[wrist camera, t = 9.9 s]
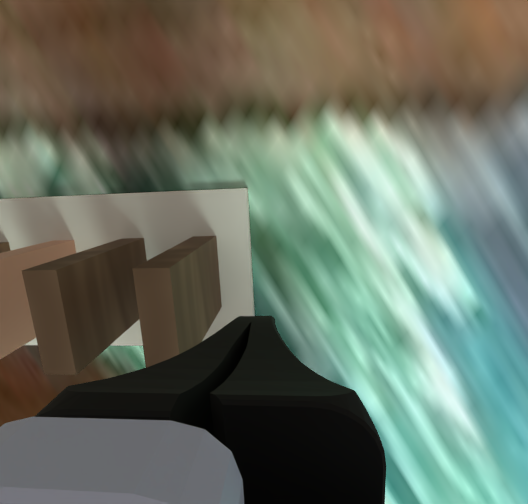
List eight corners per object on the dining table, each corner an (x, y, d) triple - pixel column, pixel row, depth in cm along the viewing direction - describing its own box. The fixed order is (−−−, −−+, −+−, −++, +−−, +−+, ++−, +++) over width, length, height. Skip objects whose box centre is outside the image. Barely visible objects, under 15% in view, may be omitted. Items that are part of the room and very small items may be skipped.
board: (247, 187, 20) (246, 188, 20) (256, 342, 22) (255, 346, 22) (-93, 202, 23) (-102, 203, 22) (-54, 341, 25) (-61, 344, 24)
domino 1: (74, 240, 21) (-51, 272, 14) (85, 307, 23) (-24, 373, 15) (52, 240, 22) (-83, 272, 14) (65, 307, 23) (-54, 372, 15)
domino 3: (216, 235, 20) (169, 267, 13) (221, 306, 22) (181, 376, 14) (192, 236, 21) (132, 268, 13) (199, 306, 22) (147, 376, 14)
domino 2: (143, 237, 21) (56, 270, 13) (152, 307, 22) (76, 374, 14) (121, 238, 21) (21, 270, 13) (131, 307, 22) (43, 374, 14)
